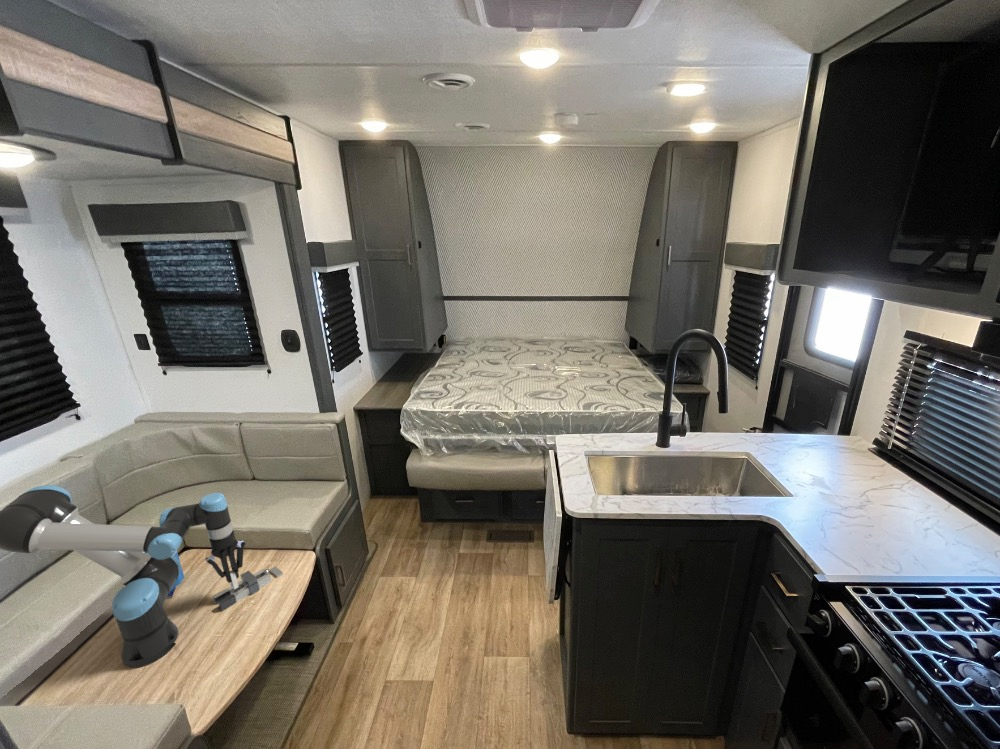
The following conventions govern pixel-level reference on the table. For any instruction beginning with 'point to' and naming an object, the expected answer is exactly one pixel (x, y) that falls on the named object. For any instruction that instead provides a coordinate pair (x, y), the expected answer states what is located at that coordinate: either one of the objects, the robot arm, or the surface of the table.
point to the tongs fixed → (247, 590)
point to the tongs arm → (241, 584)
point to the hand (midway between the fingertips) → (235, 586)
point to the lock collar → (250, 581)
